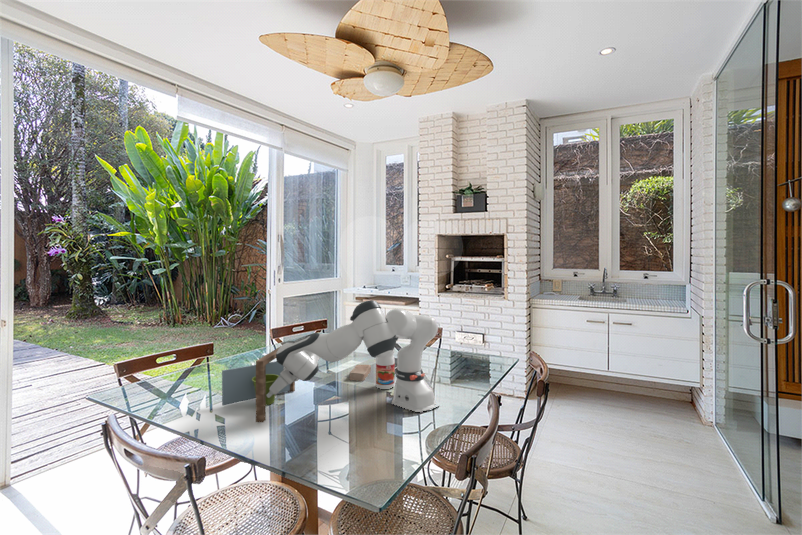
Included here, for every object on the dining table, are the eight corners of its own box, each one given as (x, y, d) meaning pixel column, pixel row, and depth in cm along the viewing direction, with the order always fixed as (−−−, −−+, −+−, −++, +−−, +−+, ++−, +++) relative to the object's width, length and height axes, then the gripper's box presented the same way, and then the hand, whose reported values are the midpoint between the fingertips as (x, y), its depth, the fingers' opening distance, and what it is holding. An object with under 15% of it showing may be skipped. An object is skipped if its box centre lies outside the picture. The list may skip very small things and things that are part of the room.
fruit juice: (391, 383, 199) (391, 329, 198) (396, 389, 190) (397, 332, 189) (373, 384, 196) (374, 330, 195) (378, 391, 187) (378, 333, 186)
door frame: (294, 390, 187) (294, 341, 186) (263, 422, 150) (263, 361, 150) (288, 390, 187) (288, 341, 186) (255, 422, 150) (255, 361, 150)
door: (290, 390, 184) (290, 359, 183) (222, 405, 164) (222, 370, 164) (288, 388, 186) (288, 358, 186) (220, 403, 167) (220, 369, 166)
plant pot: (259, 410, 162) (259, 384, 161) (246, 403, 170) (246, 377, 170) (284, 403, 170) (285, 378, 170) (271, 396, 178) (271, 372, 178)
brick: (364, 381, 202) (364, 372, 202) (348, 380, 203) (348, 372, 203) (371, 372, 218) (371, 364, 218) (356, 372, 219) (356, 363, 219)
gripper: (296, 359, 181) (276, 380, 181) (280, 372, 160) (257, 395, 161) (305, 369, 181) (285, 389, 181) (291, 383, 160) (268, 406, 161)
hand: (272, 392), depth 171 cm, fingers open, 8 cm apart
